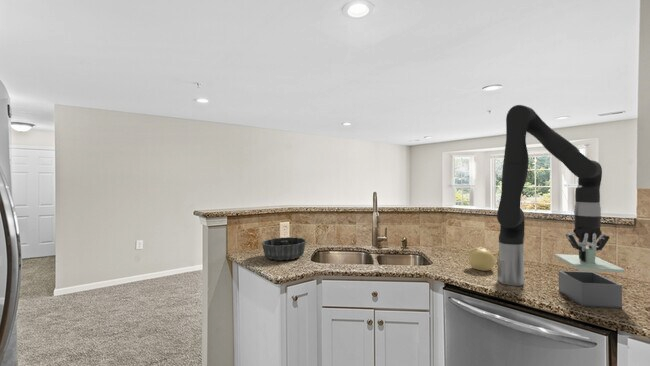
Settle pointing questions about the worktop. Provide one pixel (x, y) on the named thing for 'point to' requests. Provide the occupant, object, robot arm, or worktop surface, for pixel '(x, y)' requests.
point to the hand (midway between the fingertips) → (587, 261)
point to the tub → (590, 289)
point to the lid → (589, 262)
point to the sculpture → (481, 259)
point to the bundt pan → (284, 248)
